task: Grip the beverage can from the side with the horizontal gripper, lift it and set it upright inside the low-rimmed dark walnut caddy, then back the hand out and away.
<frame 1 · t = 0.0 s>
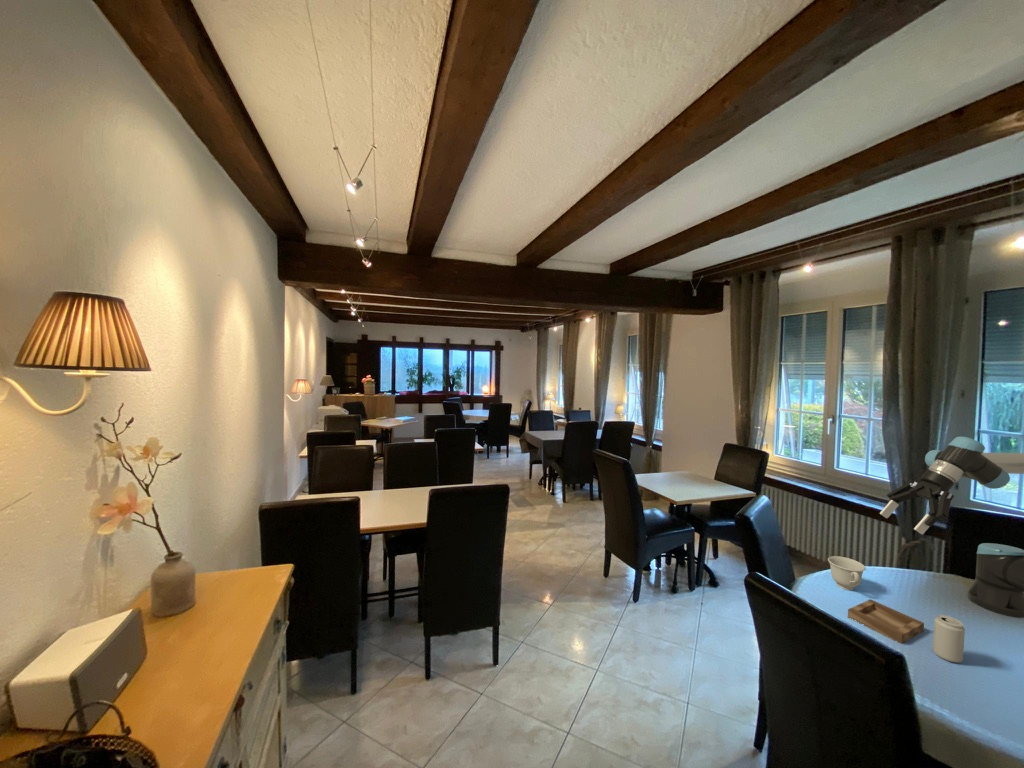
hand: (899, 523, 140), 36 cm above the table, tool tilted 35°, fingers open, 13 cm apart
walnut caddy: (884, 624, 141), on the table
beverage can: (947, 657, 125), on the table
teacup: (846, 588, 163), on the table
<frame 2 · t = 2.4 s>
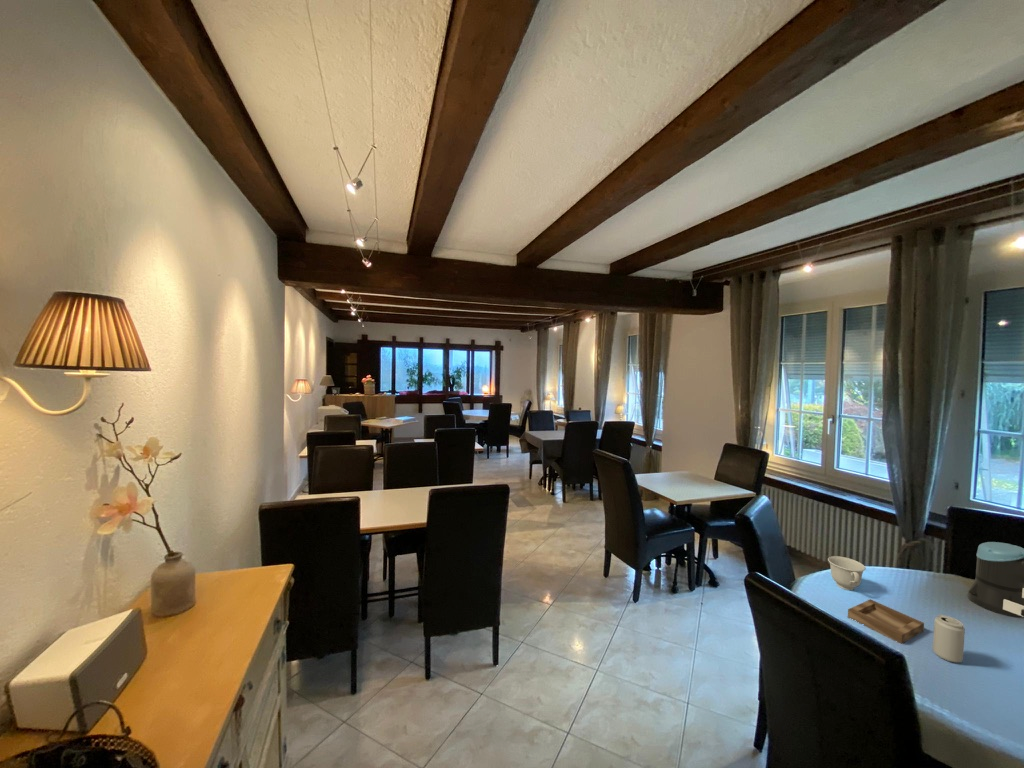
hand: (1013, 598, 112), 26 cm above the table, tool horizontal, fingers open, 13 cm apart
nothing on the table moved.
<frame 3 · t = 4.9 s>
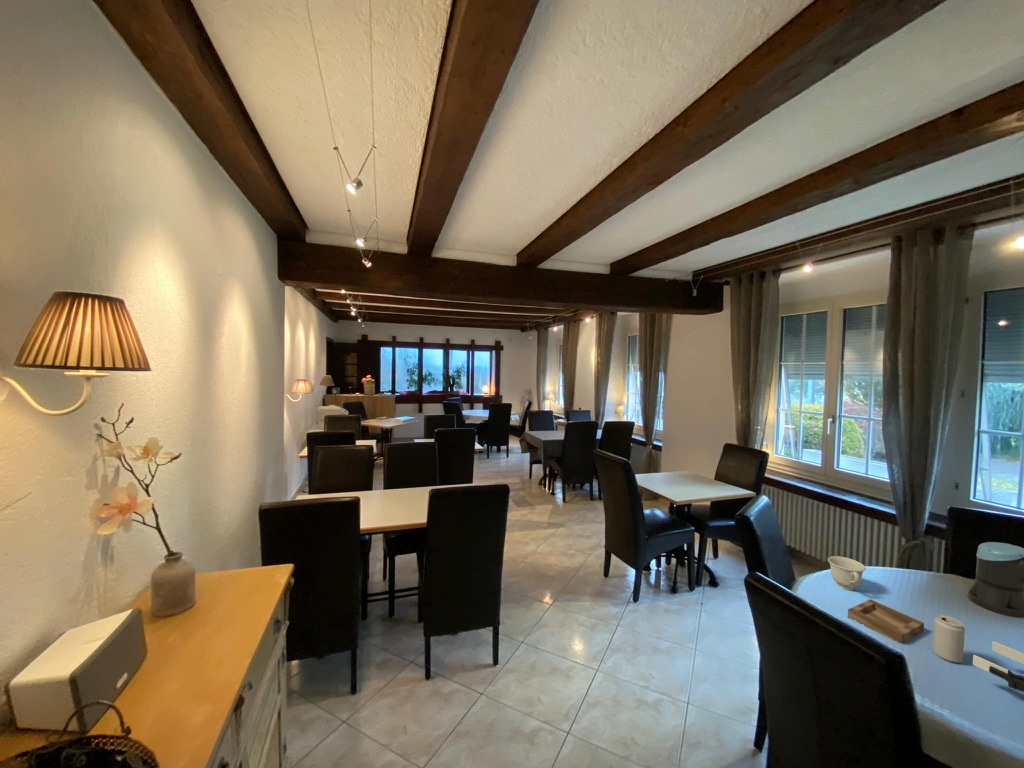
hand: (983, 652, 118), 7 cm above the table, tool horizontal, fingers open, 13 cm apart
nothing on the table moved.
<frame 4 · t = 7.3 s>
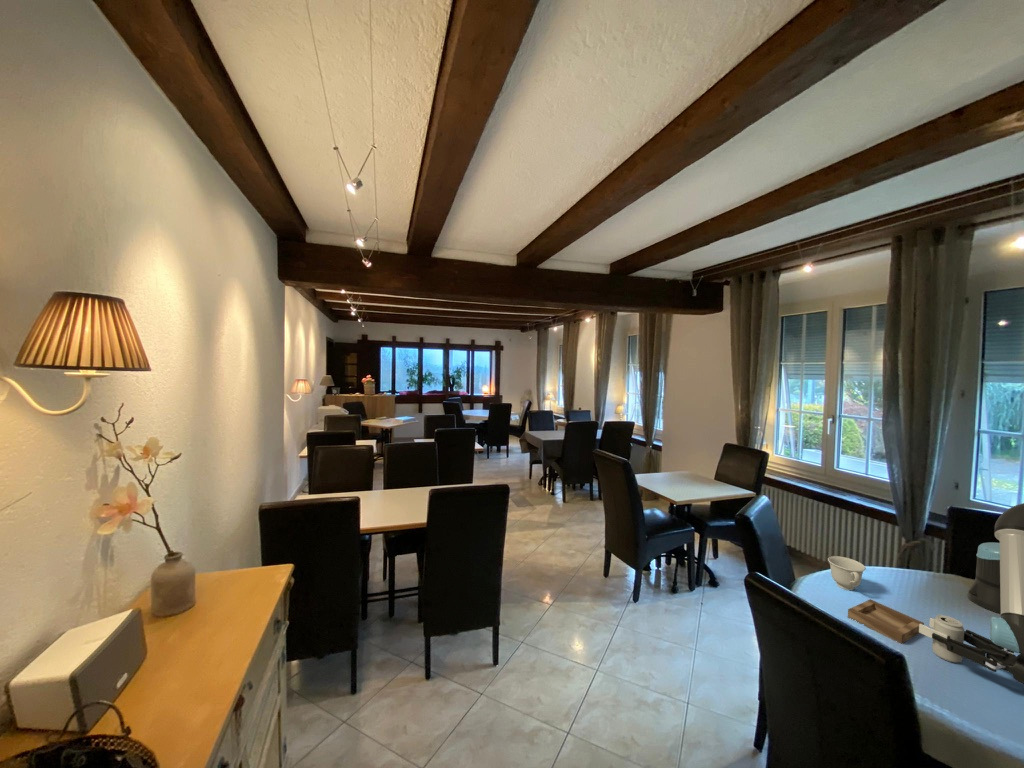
hand: (925, 625, 129), 7 cm above the table, tool horizontal, fingers closed on beverage can, 6 cm apart
beverage can: (946, 657, 125), on the table, touching gripper
everything else where it was.
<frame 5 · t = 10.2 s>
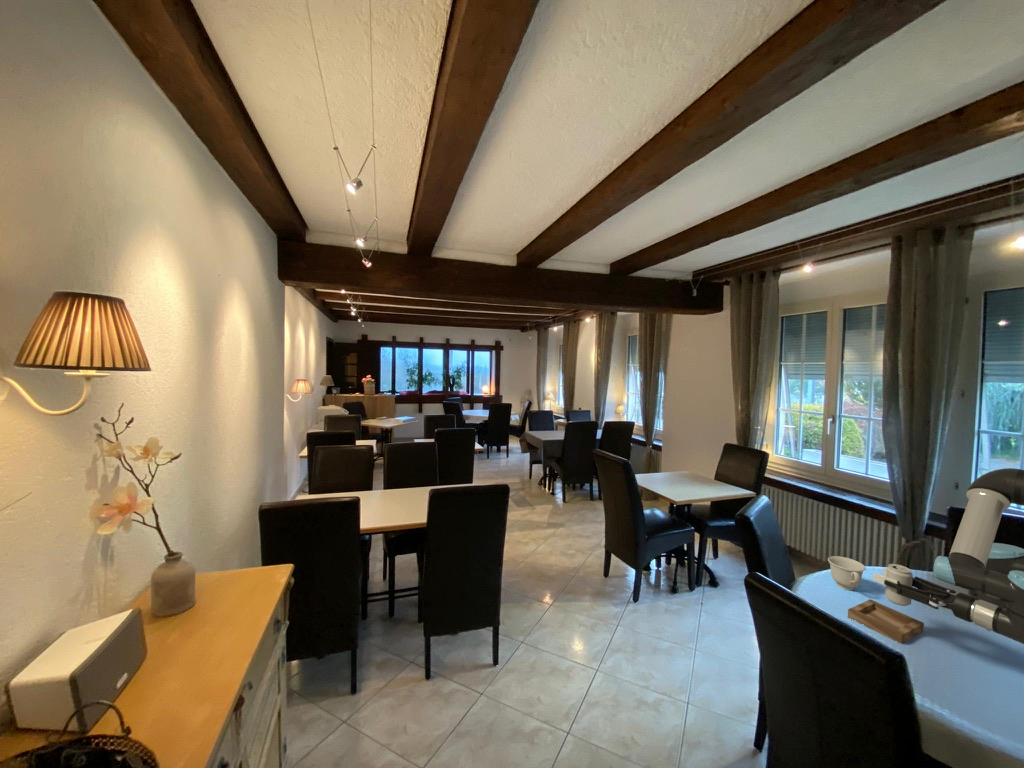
hand: (879, 574, 141), 18 cm above the table, tool horizontal, fingers closed on beverage can, 6 cm apart
beverage can: (897, 602, 136), point 10 cm above the table, touching gripper
everything else where it was.
when the fingers open (8 cm above the table, at t = 13.2 s): beverage can stays where it is, resting on walnut caddy.
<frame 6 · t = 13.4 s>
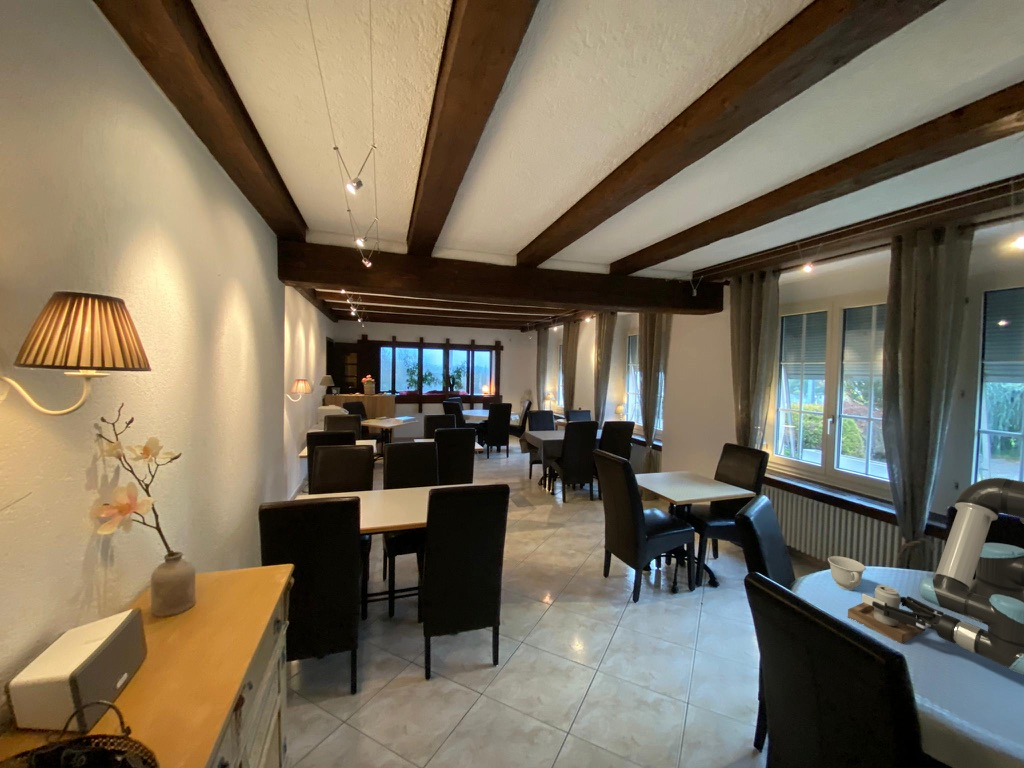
hand: (870, 594, 144), 8 cm above the table, tool horizontal, fingers open, 9 cm apart
beverage can: (885, 622, 140), point 1 cm above the table, touching walnut caddy
everything else where it was.
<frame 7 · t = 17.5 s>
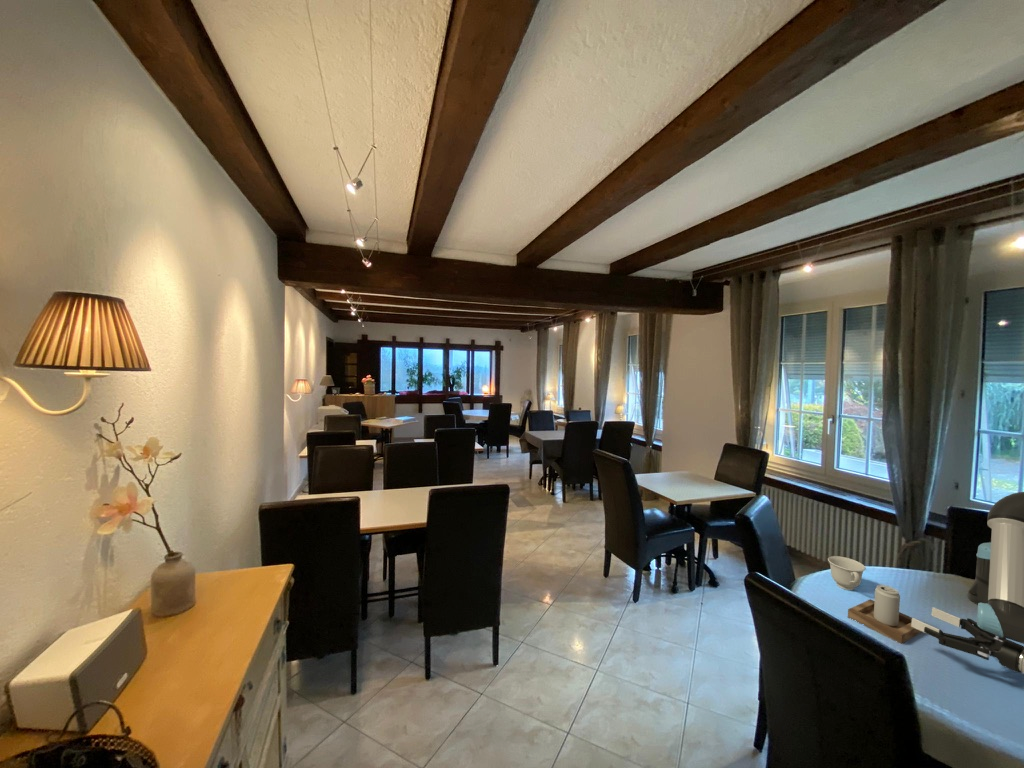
hand: (922, 616, 131), 9 cm above the table, tool horizontal, fingers open, 13 cm apart
nothing on the table moved.
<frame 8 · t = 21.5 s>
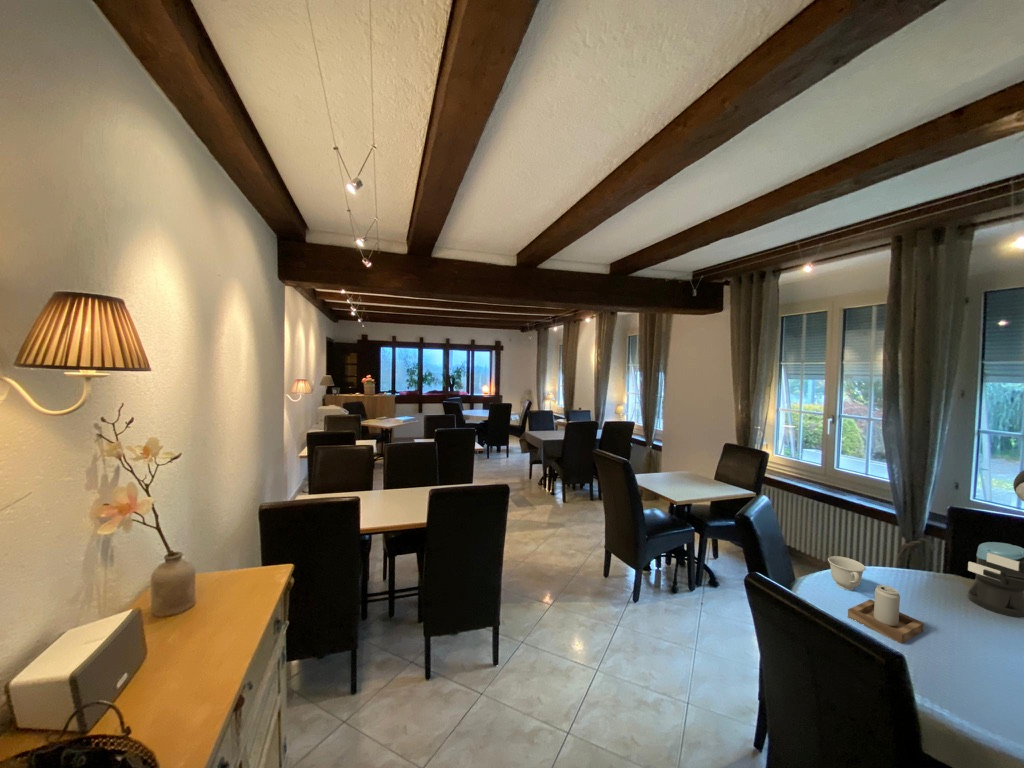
hand: (977, 561, 125), 30 cm above the table, tool horizontal, fingers open, 13 cm apart
nothing on the table moved.
at the end: beverage can touching walnut caddy; beverage can tilted 0° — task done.
